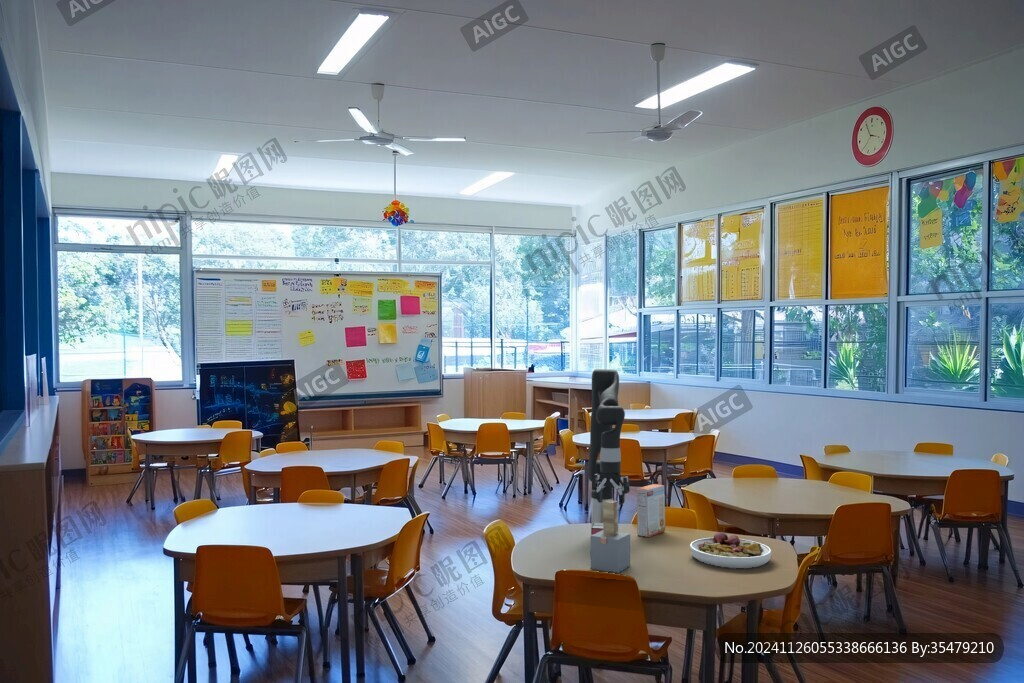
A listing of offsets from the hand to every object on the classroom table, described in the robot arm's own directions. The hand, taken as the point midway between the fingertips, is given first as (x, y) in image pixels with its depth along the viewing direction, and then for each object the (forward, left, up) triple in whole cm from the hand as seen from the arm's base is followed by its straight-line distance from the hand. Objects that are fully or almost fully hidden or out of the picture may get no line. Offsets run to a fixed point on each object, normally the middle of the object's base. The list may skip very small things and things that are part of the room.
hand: (610, 503), depth 278 cm
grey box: (0, 0, -24) cm, 24 cm away
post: (0, 0, -24) cm, 24 cm away
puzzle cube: (-20, -12, -24) cm, 33 cm away
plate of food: (-35, +34, -24) cm, 54 cm away
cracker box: (-56, -7, -24) cm, 61 cm away
